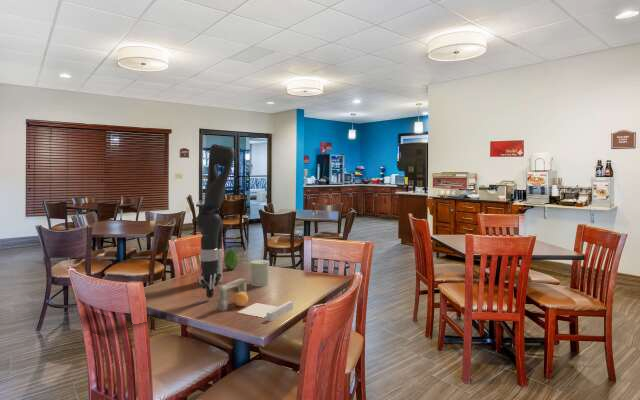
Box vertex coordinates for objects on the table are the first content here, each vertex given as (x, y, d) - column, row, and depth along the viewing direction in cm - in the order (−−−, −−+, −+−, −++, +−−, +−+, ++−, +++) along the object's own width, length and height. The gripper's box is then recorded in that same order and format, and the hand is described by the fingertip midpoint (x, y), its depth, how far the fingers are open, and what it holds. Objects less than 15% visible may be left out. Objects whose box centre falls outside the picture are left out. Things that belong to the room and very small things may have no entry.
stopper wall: (266, 320, 149) (266, 312, 149) (288, 307, 164) (288, 300, 163) (270, 321, 148) (270, 313, 148) (292, 308, 163) (292, 301, 162)
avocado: (233, 271, 226) (233, 250, 225) (221, 270, 228) (221, 249, 228) (240, 268, 233) (240, 248, 233) (229, 267, 236) (228, 247, 235)
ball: (231, 307, 164) (230, 293, 164) (239, 302, 170) (239, 289, 169) (242, 309, 162) (242, 294, 161) (251, 304, 167) (250, 290, 167)
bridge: (218, 309, 161) (218, 286, 160) (241, 299, 174) (241, 278, 174) (223, 310, 160) (223, 287, 159) (246, 300, 173) (246, 279, 172)
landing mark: (237, 312, 158) (237, 312, 158) (256, 303, 169) (256, 302, 169) (263, 318, 152) (263, 317, 152) (281, 308, 163) (281, 307, 163)
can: (265, 287, 194) (265, 263, 193) (248, 285, 196) (248, 262, 195) (271, 282, 203) (271, 259, 202) (255, 281, 205) (254, 258, 204)
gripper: (213, 255, 179) (213, 292, 180) (191, 260, 168) (192, 300, 169) (226, 256, 176) (226, 294, 177) (205, 262, 164) (205, 302, 165)
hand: (209, 297), depth 173 cm, fingers closed
